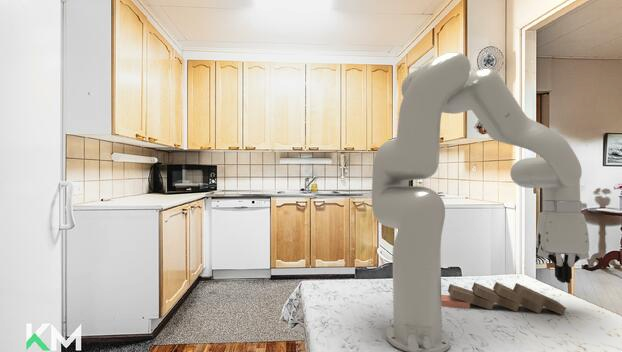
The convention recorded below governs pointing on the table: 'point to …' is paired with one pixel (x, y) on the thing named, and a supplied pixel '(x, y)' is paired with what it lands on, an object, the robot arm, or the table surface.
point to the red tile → (453, 302)
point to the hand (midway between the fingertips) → (563, 281)
